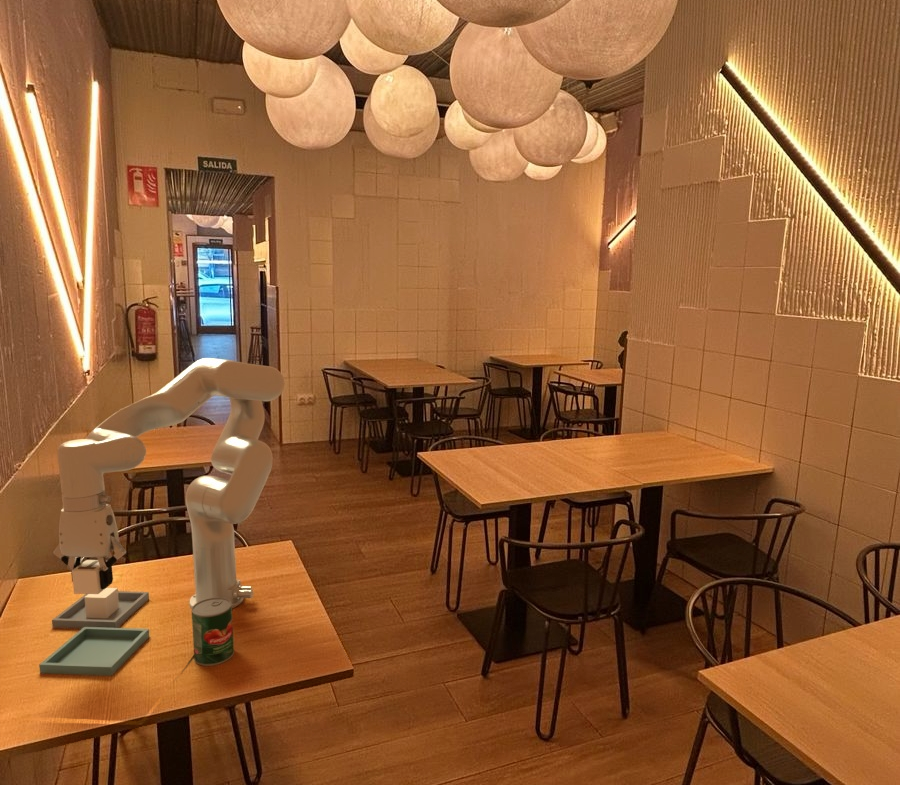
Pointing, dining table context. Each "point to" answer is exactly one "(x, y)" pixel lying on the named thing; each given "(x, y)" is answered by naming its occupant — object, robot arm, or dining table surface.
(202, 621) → the canned tomato
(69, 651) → the teal tray
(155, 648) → the dining table surface
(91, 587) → the letter cube
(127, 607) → the charcoal tray
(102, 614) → the blank cube
